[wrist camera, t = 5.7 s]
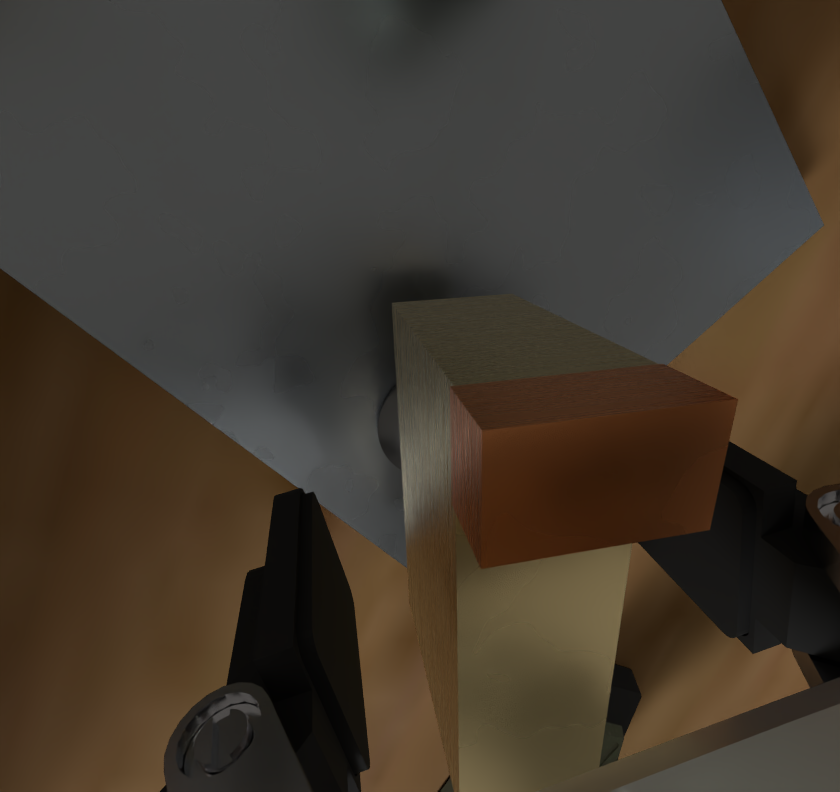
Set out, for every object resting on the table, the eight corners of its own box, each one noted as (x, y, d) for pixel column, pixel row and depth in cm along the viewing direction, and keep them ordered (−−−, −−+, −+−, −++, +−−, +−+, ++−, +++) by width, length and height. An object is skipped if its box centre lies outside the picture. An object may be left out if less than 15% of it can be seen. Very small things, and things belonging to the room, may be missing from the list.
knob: (482, 540, 16) (638, 859, 8) (396, 554, 15) (477, 905, 8) (484, 279, 13) (737, 398, 5) (377, 286, 12) (482, 430, 5)
